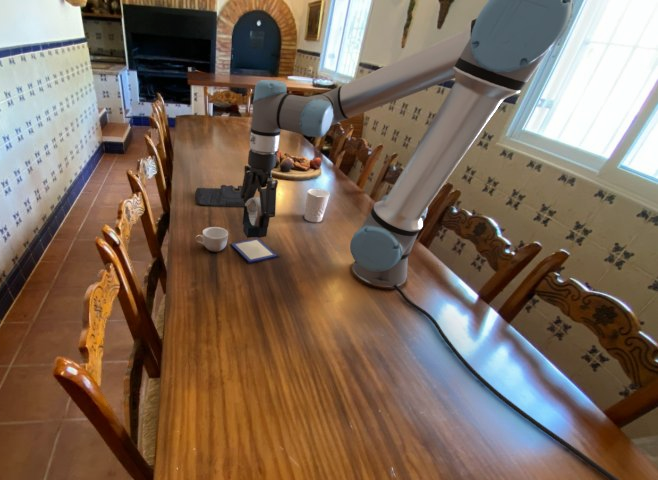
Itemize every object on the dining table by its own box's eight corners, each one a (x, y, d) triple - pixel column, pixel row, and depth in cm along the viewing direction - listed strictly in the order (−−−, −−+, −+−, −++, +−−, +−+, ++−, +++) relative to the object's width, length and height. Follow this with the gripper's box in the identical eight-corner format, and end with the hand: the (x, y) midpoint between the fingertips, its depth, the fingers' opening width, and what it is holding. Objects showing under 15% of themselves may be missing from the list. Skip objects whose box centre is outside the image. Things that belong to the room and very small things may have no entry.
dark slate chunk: (194, 191, 148) (194, 179, 145) (247, 192, 151) (248, 181, 148) (196, 206, 136) (196, 194, 133) (252, 207, 139) (254, 195, 136)
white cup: (323, 224, 131) (329, 197, 124) (301, 221, 132) (307, 194, 125) (323, 215, 137) (329, 190, 130) (303, 212, 138) (308, 187, 131)
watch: (258, 227, 112) (262, 192, 105) (266, 239, 106) (271, 203, 99) (241, 228, 111) (244, 193, 104) (248, 240, 105) (252, 204, 98)
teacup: (226, 242, 116) (226, 226, 112) (228, 254, 110) (229, 238, 106) (195, 242, 114) (194, 226, 111) (195, 254, 108) (195, 238, 105)
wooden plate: (327, 167, 185) (331, 150, 180) (311, 186, 162) (315, 167, 156) (269, 156, 194) (271, 140, 189) (246, 172, 171) (248, 154, 166)
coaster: (277, 257, 110) (277, 255, 110) (249, 263, 106) (249, 261, 106) (257, 239, 118) (257, 238, 118) (230, 245, 114) (230, 243, 114)
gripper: (232, 140, 99) (227, 217, 113) (272, 164, 85) (261, 248, 99) (255, 139, 102) (247, 214, 116) (298, 161, 88) (283, 243, 102)
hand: (254, 230), depth 107 cm, fingers closed on watch, 8 cm apart
